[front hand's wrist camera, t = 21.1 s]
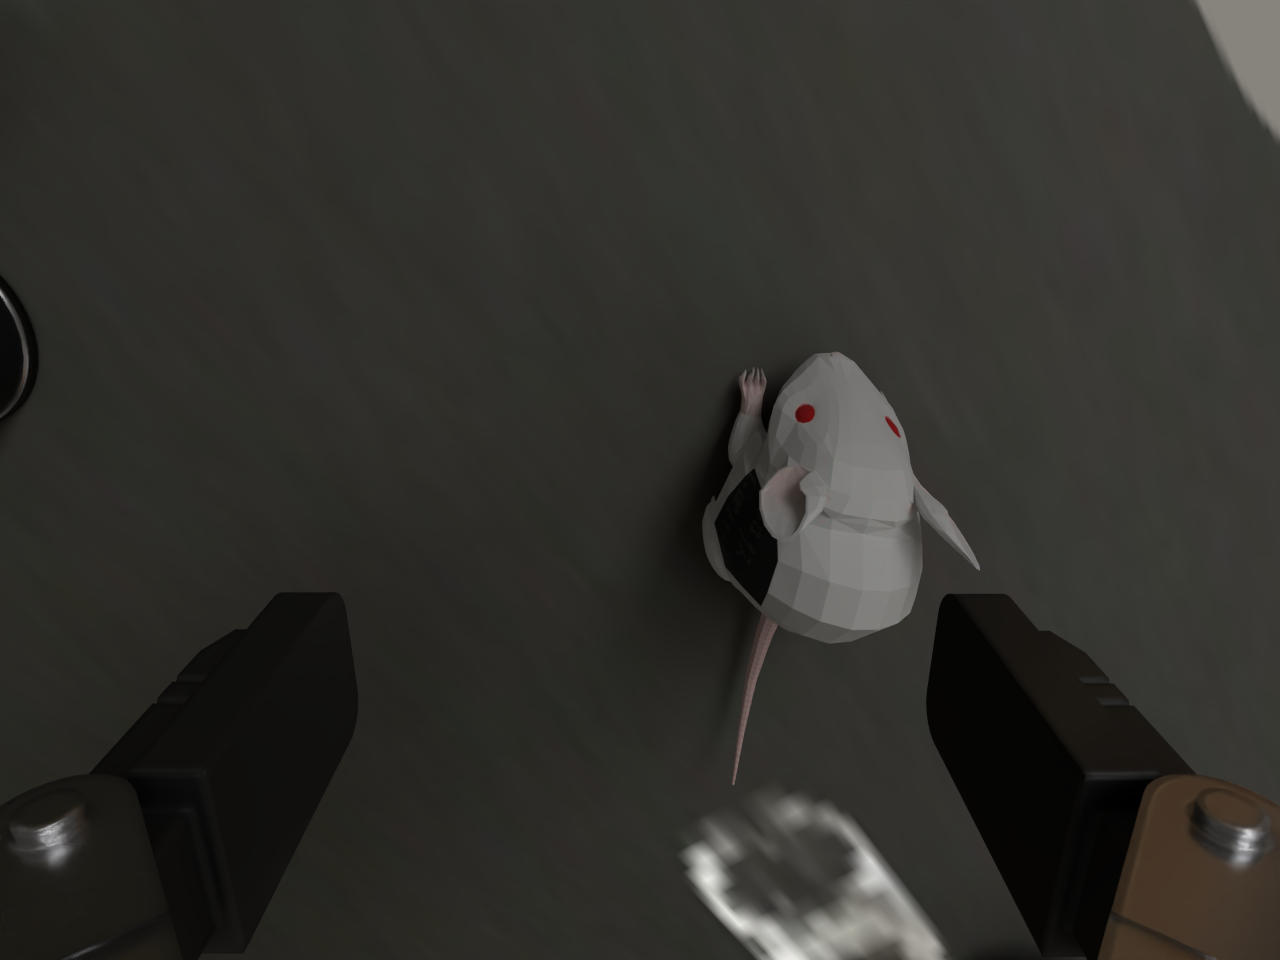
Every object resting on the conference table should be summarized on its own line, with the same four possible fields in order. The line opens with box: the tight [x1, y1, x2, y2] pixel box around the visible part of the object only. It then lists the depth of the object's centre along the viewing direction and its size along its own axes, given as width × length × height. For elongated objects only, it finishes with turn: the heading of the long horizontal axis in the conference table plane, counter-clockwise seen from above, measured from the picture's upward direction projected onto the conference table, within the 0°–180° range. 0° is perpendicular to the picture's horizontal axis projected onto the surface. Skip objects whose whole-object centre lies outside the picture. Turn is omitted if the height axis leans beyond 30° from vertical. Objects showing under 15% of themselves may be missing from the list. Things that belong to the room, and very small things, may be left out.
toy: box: [702, 352, 980, 785], centre depth 37 cm, size 9×24×15 cm, turn 171°
